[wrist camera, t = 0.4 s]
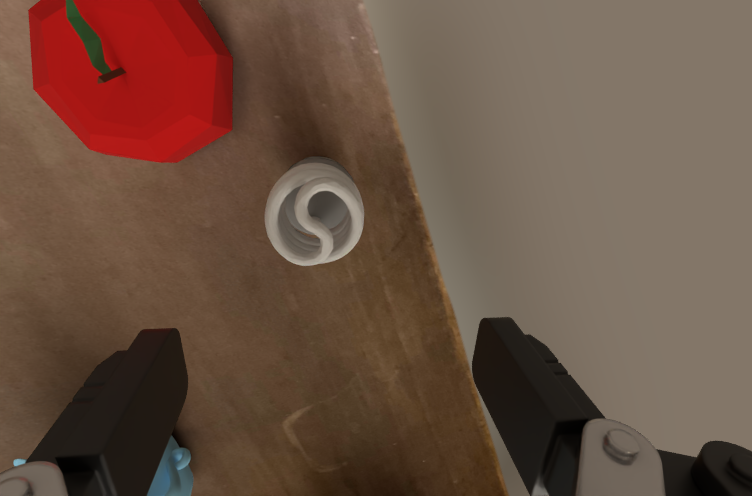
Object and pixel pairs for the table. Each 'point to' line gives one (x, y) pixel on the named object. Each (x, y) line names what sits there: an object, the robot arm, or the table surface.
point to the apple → (133, 74)
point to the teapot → (167, 472)
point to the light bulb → (314, 212)
